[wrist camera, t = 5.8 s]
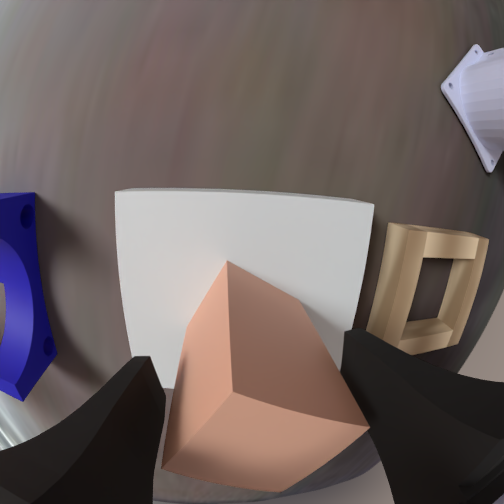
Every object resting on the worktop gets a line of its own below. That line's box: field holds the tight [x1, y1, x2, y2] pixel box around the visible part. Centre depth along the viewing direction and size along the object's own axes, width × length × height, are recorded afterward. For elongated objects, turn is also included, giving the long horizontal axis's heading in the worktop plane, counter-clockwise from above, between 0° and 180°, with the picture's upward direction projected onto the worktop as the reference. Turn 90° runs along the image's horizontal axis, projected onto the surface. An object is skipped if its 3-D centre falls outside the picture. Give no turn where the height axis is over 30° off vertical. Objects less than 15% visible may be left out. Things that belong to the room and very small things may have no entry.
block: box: [161, 261, 370, 492], centre depth 9 cm, size 4×4×8 cm
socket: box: [366, 222, 489, 355], centre depth 16 cm, size 9×9×2 cm
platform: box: [115, 188, 374, 389], centre depth 14 cm, size 12×11×2 cm
